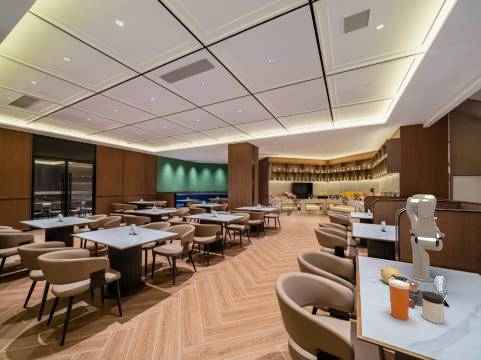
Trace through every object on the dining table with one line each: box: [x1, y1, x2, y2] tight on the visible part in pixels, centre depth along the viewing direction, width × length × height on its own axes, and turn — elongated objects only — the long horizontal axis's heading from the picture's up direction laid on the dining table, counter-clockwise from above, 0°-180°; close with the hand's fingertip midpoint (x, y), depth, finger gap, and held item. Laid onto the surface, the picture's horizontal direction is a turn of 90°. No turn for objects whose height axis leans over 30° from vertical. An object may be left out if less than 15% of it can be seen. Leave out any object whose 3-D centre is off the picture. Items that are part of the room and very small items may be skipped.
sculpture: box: [380, 266, 403, 284], centre depth 146 cm, size 11×12×11 cm
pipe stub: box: [407, 280, 419, 294], centre depth 124 cm, size 5×5×10 cm
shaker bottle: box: [387, 274, 410, 321], centre depth 108 cm, size 9×9×20 cm
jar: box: [421, 290, 445, 325], centre depth 106 cm, size 9×8×12 cm
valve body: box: [409, 288, 424, 309], centre depth 122 cm, size 17×11×6 cm, turn 133°
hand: (426, 245), depth 134 cm, fingers open, 9 cm apart
